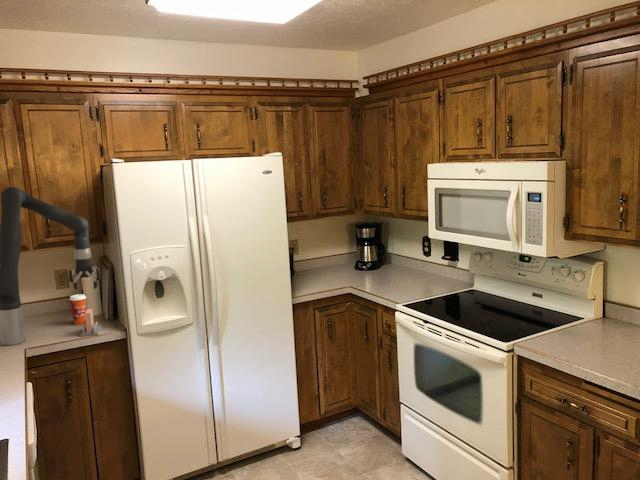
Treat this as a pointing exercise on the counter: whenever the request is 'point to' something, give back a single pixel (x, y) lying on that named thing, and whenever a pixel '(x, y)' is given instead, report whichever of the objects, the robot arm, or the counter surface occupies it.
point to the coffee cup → (78, 308)
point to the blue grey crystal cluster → (94, 332)
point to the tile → (89, 320)
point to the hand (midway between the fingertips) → (86, 289)
